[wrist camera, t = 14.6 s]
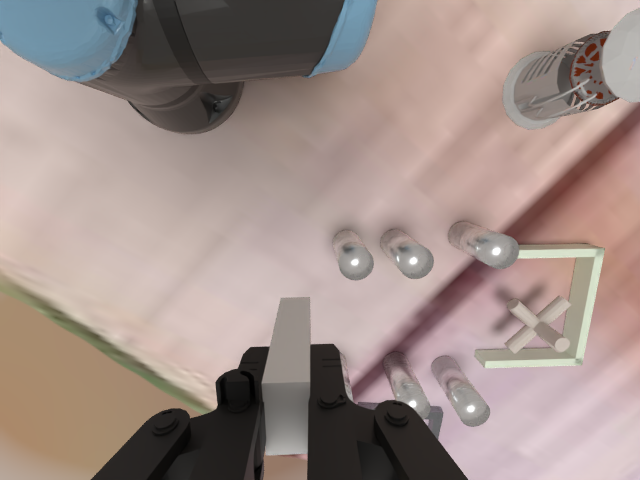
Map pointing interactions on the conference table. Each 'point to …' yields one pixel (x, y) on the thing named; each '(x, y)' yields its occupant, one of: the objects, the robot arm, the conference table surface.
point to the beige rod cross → (538, 325)
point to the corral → (576, 314)
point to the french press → (576, 76)
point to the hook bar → (434, 418)
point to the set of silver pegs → (416, 265)
